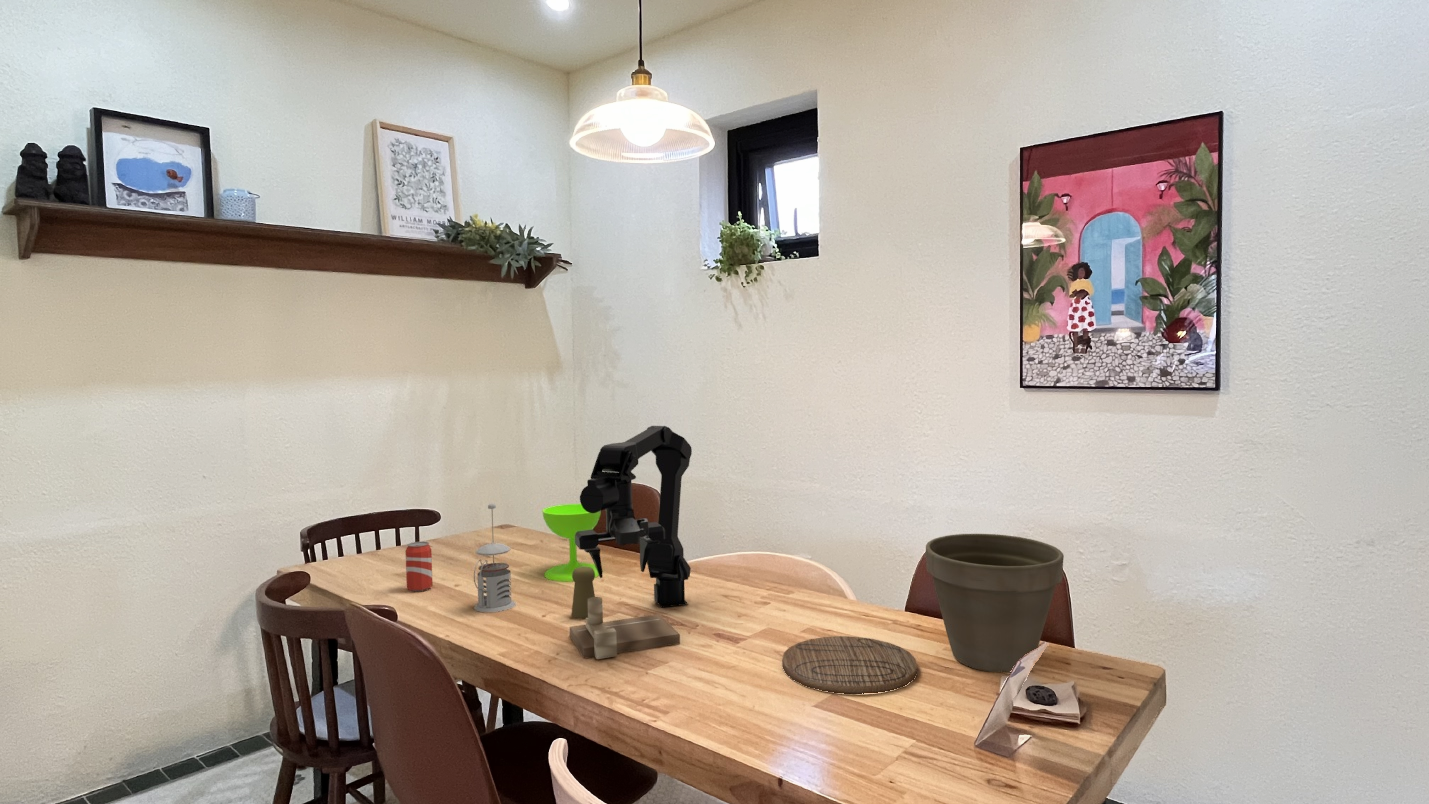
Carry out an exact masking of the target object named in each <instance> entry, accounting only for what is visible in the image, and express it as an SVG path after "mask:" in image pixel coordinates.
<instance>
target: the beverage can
mask: <svg viewBox="0 0 1429 804" xmlns="http://www.w3.org/2000/svg"><path fill="white" fill-rule="evenodd" d="M404 551H405V573H406V575H405V577H406V589H408V590H409V591H410V592H414V593H417V592H418V593H419V592H420V593H421V592H425V591H427V590H430V588H431V587H433V586H434V585H433V561H432V559H433V558H432V556H433V555H432V548H431V546H430V543H429V542H428V541H414V542H410V543H408V544H407V547H406V549H405V550H404Z"/></svg>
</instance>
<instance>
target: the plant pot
mask: <svg viewBox="0 0 1429 804" xmlns="http://www.w3.org/2000/svg"><path fill="white" fill-rule="evenodd" d="M1064 558H1065V557H1064V553H1063V552H1062V551H1061V550H1060V549H1059V548H1057V547H1056V546H1054V545H1051V544H1048V543H1046V542H1044V541H1043V542H1042V541H1039V540H1036V539H1032V538H1028V537H1020V536H1015V535H1007V534H998V533H997V534H996V533H995V534H994V533H959V534H949V535H942V536H939V537H936V538H933V539H931V540H929V541H928V542H927V543H926V545H925V560H926V561H925V562H926V571H927V573H928V574H929V575H930V576H931V577H932V582H933V585H934V586H933V587H934V591H935V593H936V597H937V598H936V599H937V601H938V605H939V610H940V613H941V616H942V620H943V625H944V628H945V631H946V635H947V639H948V644H949V646H950V649H951V652H952V655H953V657H954V659H955V660H956V661H958V662H959V663H961V664H962V665H964V666H966V667H968V666H969V667H968V668H973V669H975V670H978V671H982V670H983V671H984V672H990V673H1003V674H1005V673H1011V672H1010V671H1011V670H1012V668H1013V666H1014V665H1015V664H1016V662H1017V661H1018V660H1019V659H1020V658H1022V657H1023V656H1024V655H1025V654H1027V653H1029V652H1030V651H1032V650H1034V649H1036V648H1038V649H1039V646H1040V642H1041V638H1042V634H1043V631H1044V628H1045V624H1046V621H1047V618H1048V614H1049V611H1050V608H1051V605H1052V600H1053V596H1054V594H1055V590H1056V586H1058V585H1059V584H1060V583H1061V582H1062V581H1063V570H1064Z"/></svg>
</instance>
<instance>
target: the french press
mask: <svg viewBox="0 0 1429 804" xmlns="http://www.w3.org/2000/svg"><path fill="white" fill-rule="evenodd" d="M487 509H488V510H491V533H492V536H491V537H492V542H490V543H486V544H484V545H482V546H480V547H478V548H477V549H476V550H475V553H476V554H477V555H479V556H488V557H489V556H492V562H490V563H488V560H487V559H484V561H483V562H482V560H481V559H479V560H478V561H477V562H476V565H475V567H474V570H473V582H474V586H475V588H476V590H477V599H478V600H477V601H478V603H476V604H475V606H474V608H473V610H475V611H477V612H479V613H497V612H498V611H500V612H503V611H502V610H504V611H508V610H510V608H511V609H513V608H515V606H516V604H517V603H516V602H515V601H514V600H513V599H512V592H511V591H512V587H511V586H512V582H511V579H512V576H511V570H510V569H508V568H509V567H510V564H508V563H506V562H495V556H498V555H503V554H506V553H508V552H510V551H511V547H510V546H508V545H507V544H504V543H499V542H494V513H493V510H494V509H497V506H496V504H495V503H494V502H493V503H492V502H491V503H489V504H488V505H487ZM479 562H480V565H479V566H478V564H479ZM477 566H478V570H479V572H477V574H476V570H477ZM476 575H477V583H476ZM484 578H485V579H484ZM485 594H486V595H485ZM507 609H508V610H507ZM498 613H499V612H498Z"/></svg>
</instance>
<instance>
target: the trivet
mask: <svg viewBox="0 0 1429 804" xmlns="http://www.w3.org/2000/svg"><path fill="white" fill-rule="evenodd" d="M781 660H782V663H781V664H782V666H781V667H783V668H782V670H783V669H784V670H783V672H784V671H785V672H784V674H785V673H786V674H787V675H788V676H790V677H791V678H792V679H793V680H795V681H797V682H799V683H801V684H802V685H801V684H800V685H801V686H803V685H804V686H803V687H805V686H807V687H806V688H808V687H810V688H809V689H811V688H815V689H819V690H822V691H828V692H834V693H844V694H862V693H863V694H864V693H878V692H885V691H890V690H894V689H897V688H900V687H903V686H905V685H907V684H908V683H909V682H911V681H912V680H914V678H915V676H916V677H917V675H918V663H917V659H916V657H914V655H913V654H912V653H911V652H909V651H908V650H906V649H905V648H903V647H901V646H898V645H896V644H894V643H890V642H887V641H883V640H879V639H874V638H869V637H862V636H861V637H860V636H846V635H836V636H821V637H817V638H816V637H815V638H810V639H806V640H804V641H803V640H802V641H799V642H797V643H796V644H793V645H791V646H790V647H788V648H787V649H786V650H785V651H784V652H783V655H782V658H781ZM786 674H785V675H786ZM916 674H917V675H916ZM787 675H786V676H787ZM788 676H787V677H788ZM791 678H790V679H791ZM792 679H791V680H792ZM915 679H916V678H915ZM793 680H792V681H793ZM795 681H794V682H795ZM914 681H915V680H914ZM797 682H796V683H797ZM799 683H798V684H799ZM911 683H912V682H911ZM907 686H908V685H907ZM903 688H904V687H903ZM815 689H814V690H815ZM900 689H901V688H900ZM822 691H821V692H822ZM828 692H827V693H828ZM834 693H833V694H834Z"/></svg>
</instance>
